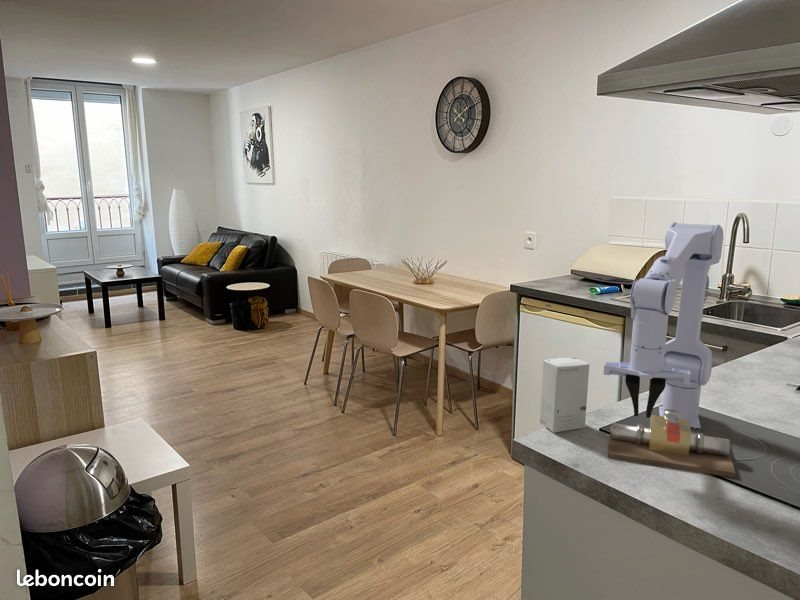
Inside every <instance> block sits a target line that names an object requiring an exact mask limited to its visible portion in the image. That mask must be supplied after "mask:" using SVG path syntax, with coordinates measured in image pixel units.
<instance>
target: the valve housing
mask: <svg viewBox="0 0 800 600" xmlns="http://www.w3.org/2000/svg"><path fill="white" fill-rule="evenodd" d="M649 419H650V420H649V427H644V426H643V425H642V424H636V425H628V424H622V423H621V424H620V423H616V422H615V423H614V422H613V423H612V425H613V432H612V439H616V440H622V441H629V442H636V444H637V445H641V443H642V444H649V450H651V451H657V452H664V453H670V454H677V455H683V456H689V451H696V453H697V454H702V453H709V454H716V455H723V456H729V453H730V450H731V442H730V439H728V438H723V437H722V438H721V437H717V436H716V437H714V436H707V435H704V433H701V432H696V434H693V433H692V430H691V429H692V428H690V424H689V420H686V419H678V420H677V421H676V423H679V429H680V443H675V442H668V441H667V433H666V427H667V420H666V419H664V417H663V416H660V415H654V414H651V417H650V418H649Z"/></svg>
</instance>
